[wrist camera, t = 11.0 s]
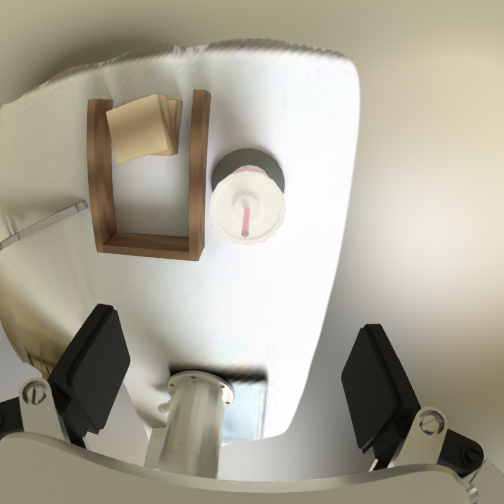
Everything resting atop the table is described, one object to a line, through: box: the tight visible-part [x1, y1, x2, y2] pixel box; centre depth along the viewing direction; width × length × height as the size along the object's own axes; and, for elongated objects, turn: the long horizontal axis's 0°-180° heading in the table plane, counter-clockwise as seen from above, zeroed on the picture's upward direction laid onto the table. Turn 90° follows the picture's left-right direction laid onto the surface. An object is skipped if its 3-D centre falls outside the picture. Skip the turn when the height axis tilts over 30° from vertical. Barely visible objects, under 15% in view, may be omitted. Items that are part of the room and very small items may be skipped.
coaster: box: [212, 149, 284, 193], centre depth 30 cm, size 8×8×1 cm
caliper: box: [0, 201, 87, 250], centre depth 30 cm, size 20×1×6 cm, turn 103°
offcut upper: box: [106, 94, 177, 164], centre depth 24 cm, size 6×6×3 cm
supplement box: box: [143, 427, 166, 470], centre depth 51 cm, size 7×7×13 cm
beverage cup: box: [209, 165, 286, 245], centre depth 24 cm, size 6×6×14 cm
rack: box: [87, 90, 211, 261], centre depth 28 cm, size 18×13×4 cm
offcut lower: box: [124, 100, 183, 156], centre depth 26 cm, size 6×6×3 cm
